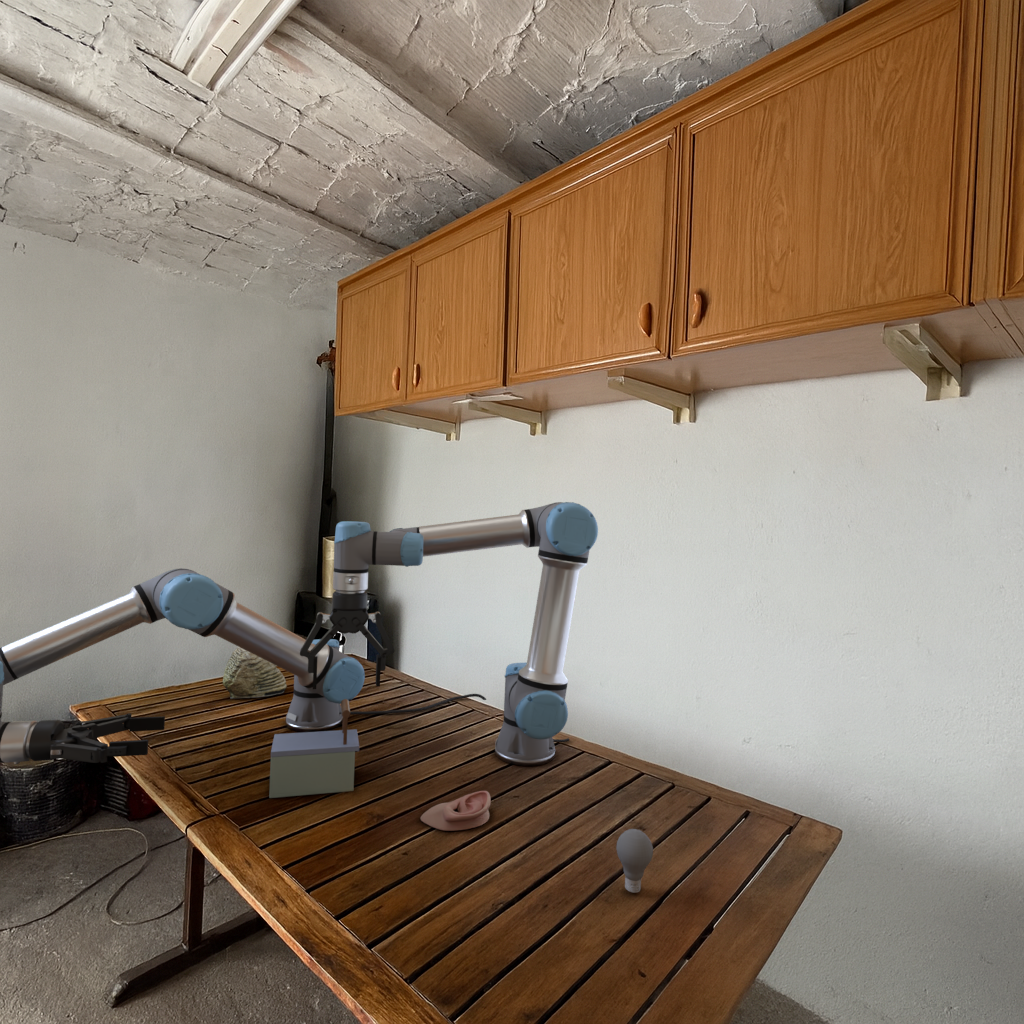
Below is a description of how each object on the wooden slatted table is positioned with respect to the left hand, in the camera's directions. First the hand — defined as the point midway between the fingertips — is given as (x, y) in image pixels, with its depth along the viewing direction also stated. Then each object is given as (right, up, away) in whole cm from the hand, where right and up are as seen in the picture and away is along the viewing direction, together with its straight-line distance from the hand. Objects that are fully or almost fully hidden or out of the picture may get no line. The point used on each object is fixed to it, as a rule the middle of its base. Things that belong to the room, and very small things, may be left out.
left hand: (156, 734), depth 130 cm
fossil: (-8, -12, +68) cm, 69 cm away
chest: (+29, -14, +9) cm, 34 cm away
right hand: (+36, +7, +11) cm, 38 cm away
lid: (+30, -6, +9) cm, 32 cm away
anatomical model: (+62, -16, -3) cm, 64 cm away
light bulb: (+93, -18, -24) cm, 98 cm away
